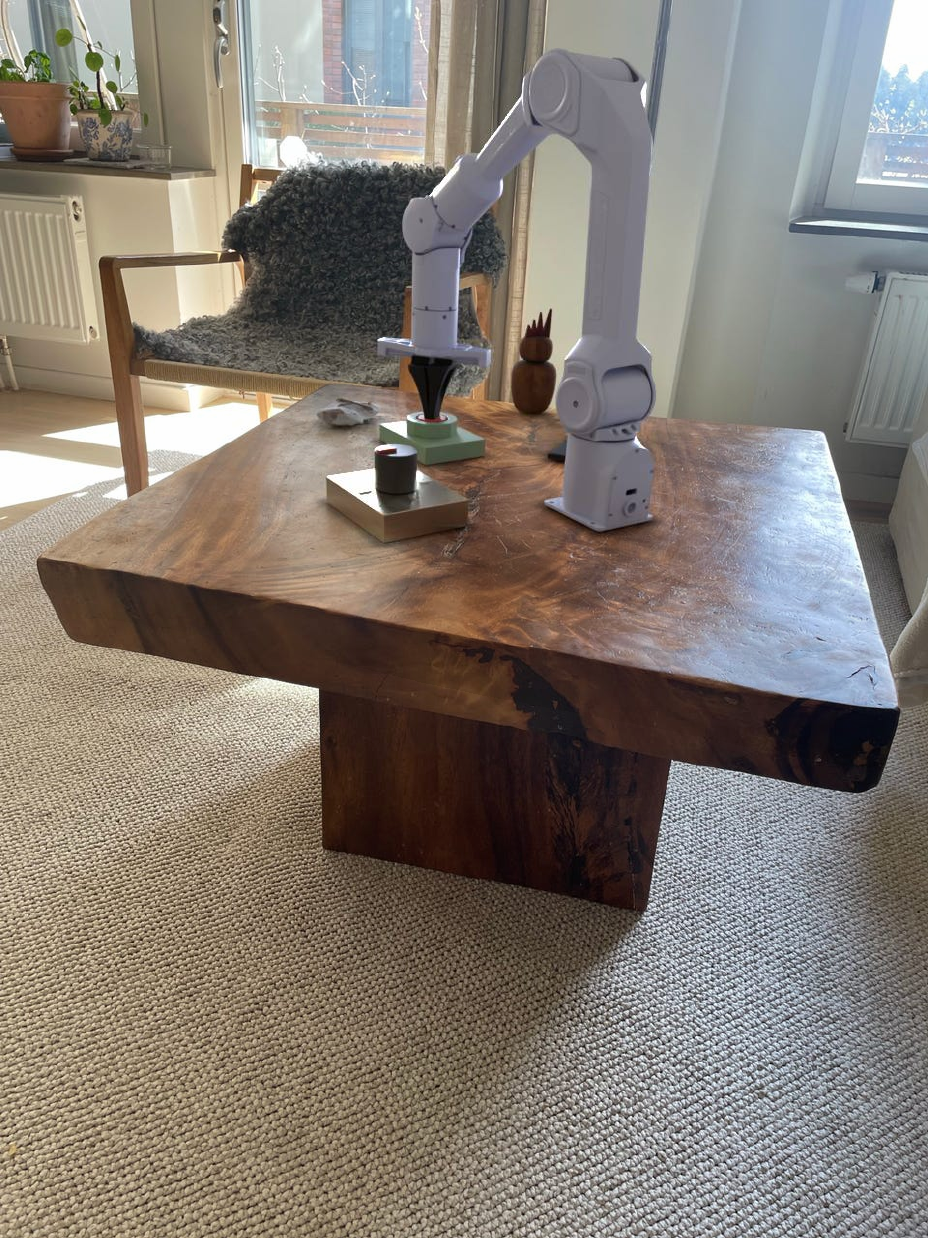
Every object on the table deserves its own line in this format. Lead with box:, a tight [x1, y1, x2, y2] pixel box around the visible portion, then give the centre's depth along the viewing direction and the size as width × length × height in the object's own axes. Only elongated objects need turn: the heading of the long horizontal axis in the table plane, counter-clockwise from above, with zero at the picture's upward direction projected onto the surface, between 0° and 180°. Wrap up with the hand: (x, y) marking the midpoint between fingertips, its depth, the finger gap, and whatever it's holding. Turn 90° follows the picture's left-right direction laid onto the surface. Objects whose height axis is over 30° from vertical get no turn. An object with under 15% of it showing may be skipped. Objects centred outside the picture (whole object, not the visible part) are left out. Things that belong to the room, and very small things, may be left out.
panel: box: [325, 468, 470, 544], centre depth 94 cm, size 13×10×3 cm
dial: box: [374, 444, 418, 494], centre depth 93 cm, size 4×4×4 cm
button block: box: [379, 411, 487, 466], centre depth 116 cm, size 12×9×4 cm
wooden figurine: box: [510, 308, 557, 414], centre depth 133 cm, size 7×6×15 cm
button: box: [418, 414, 446, 422], centre depth 115 cm, size 4×4×2 cm
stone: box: [316, 397, 381, 427], centre depth 126 cm, size 10×7×3 cm
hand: (431, 417), depth 115 cm, fingers closed, pressing on button
